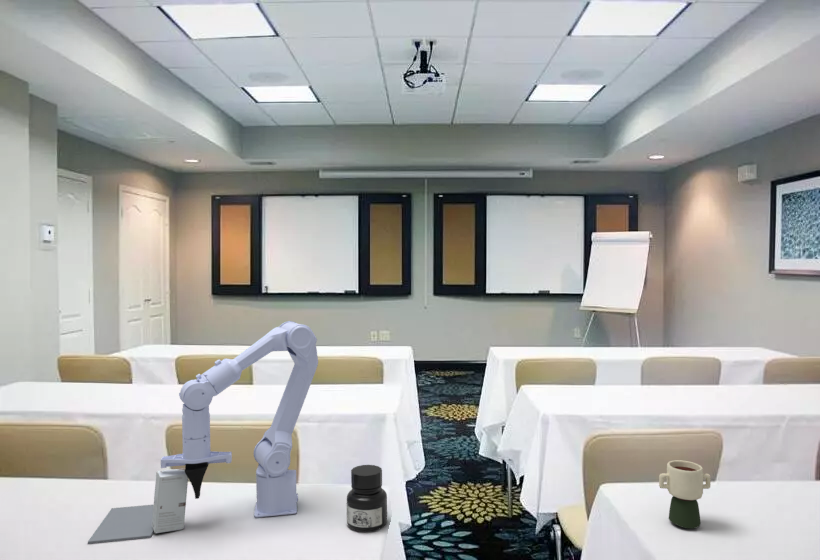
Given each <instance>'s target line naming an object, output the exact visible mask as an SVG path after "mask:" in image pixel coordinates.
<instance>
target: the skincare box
mask: <svg viewBox="0 0 820 560" xmlns="http://www.w3.org/2000/svg"><path fill="white" fill-rule="evenodd" d="M155 473H156V475H155V486H154V493H153V494H154V497H153V505H154V506H153V518H152V527H153V530H154V534H160V533H167V532H175V531H181V530H183V529H184V528H185V517H186V516H185V515H186V505H187V494H188V485H189V478H188V477H187V475H186V474H185V468H177V469H176V468H175V469H174V468H173V469H165V470H156V471H155Z"/></svg>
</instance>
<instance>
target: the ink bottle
mask: <svg viewBox="0 0 820 560" xmlns="http://www.w3.org/2000/svg"><path fill="white" fill-rule="evenodd" d="M350 475H351V476H350V479H351V480H350V482H351V485H350V486H351V490H349V491H348V493H347V494H346V525H347V526H348V528H349V529H352V530H353V531H356V532H362V533H363V532H364V533H365V532H367V533H368V532H376V531H379V530H380V529H383V528H384V527H385V526H386V525H387V523H388V494H387V492H386V490H385V489H384V488H383V470H382V467H380V466H379V465H375V464H361V465H356V466H355V467H353V468H352V469H351V470H350Z"/></svg>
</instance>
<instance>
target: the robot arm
mask: <svg viewBox="0 0 820 560" xmlns="http://www.w3.org/2000/svg"><path fill="white" fill-rule="evenodd" d="M317 341H318V339H317V337H316V334H315V333H314V332H313V330H312V328H311V327H310V326H309V325H307V324H303V323H297V322H296V321H293V320H288V321H287V320H286V321H285V322H283V323H281V324H280V325H279V326H276V327H273V328H272V329H271V330H270V331H268V332H267V333H266V334H264V335H263V336H262V337H261V338H259V339H258V340H257V341H255V342H254V343H253V344H252V345H250V346H248V347H247V348H246V349H245V350H243V351H242V352H241V353H239V354H238V355H237V356H235V357H234V358H233V359H232V358H227V357H226V358H223V359H222V360H221V359H220V358H219V359H217V360H215V361H214V365H213V366H212V367H210V368H209V369H207V370H205V371H204V372H203V373H202V374H200V373H198V374H196V375H195V379H190V380H188V381H186V382H185V383H184V384H183V385H182V387H181V389H180V390H179V391H180V392H179V393H178V396H179V399H180V400H181V402H182V408H181V410H182V411H181V412H182V416H181V425H182V426H181V428H182V430H181V432H182V433H181V434H182V453H177V454H172V455H164V456H161V458H160V468H161V469H165V468H167V467H179V466H185V468H184V469H185V474H186V475H187V477H188V481H189V482H190V484H191V487H192V489H193V493H194V499H197V500H198V499H200V497H201V489H202V484H203V481H204V477H205V474H206V471H207V469H208V467H209V465H210V464H221V463H223V464H231V463H232V459H233V456H232V455H233V453H232V451H214V450H213V451H212V450H211V414H210V405H211V403H212V401H213V398H214V397H216V396H218V395H220V394H221V393H222V392H223V391H225V390H226V389H228V388H230V387H231V386H232V385H233V384H235V383H236V382H237V381H239V380H240V379H241V375H242V372H243V371H244V370H245V369H247V368H249V367H250V366H252V365H253V364H255V363H257V362H258V361H259V360H261V359H262V358H264V357H266V356H267V355H269V354H271V353H272V352H288V353H289V356H290V358H291V360H292V362H293V367H292V370H291V373H290V376H289V378H288V380H287V382H286V386H285V387H284V388H285V389H284V390H283V394H282V396H281V399H280V401H279V404H278V406H277V409H276V411H275V415H274V417H273V420H272V423H271V425H270V427H269V428H268V429H267V430H266V431H264V433H263V436H262V437H261V439H260V440H259V441H258V442H257V444H256V445H255V447H254V448H253V457H254V460H255V462H257V463H258V465H257V468H256V470H255V480H256V481H255V482H256V483H255V485H256V486H255V487H256V488H255V489H256V502H255V507H254V512H253V513H254V514H253V517H254V518H265V517H275V516H284V515H294V514H295V515H296V514H297V512H298V508H297V506H298V505H297V504H298V503H297V502H299V494H298V492H297V470H296V469H289V467H290V465H291V451H292V448H293V438H292V437H293V436H292V435H293V432H294V429H295V426H296V424H297V422H298V419H299V416H300V413H301V410H302V408H303V406H304V403H305V400H306V397H307V395H308V392H309V390H310V388H311V387H310V386H311V384H312V382H313V379H314V377H315V374H316V371H317V368H318V366H319V365H318V364H319V355H318V350H317Z"/></svg>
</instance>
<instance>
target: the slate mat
mask: <svg viewBox="0 0 820 560" xmlns="http://www.w3.org/2000/svg"><path fill="white" fill-rule="evenodd" d="M153 506H154V504H145V505H133V506H123V507H122V506H121V507H112V508H110V510H109V511H108V513H107V514H106V516H105V517H104V518H103V520H102V521H101V523H100V524H99V526H98V527H97V528H96V530H94V532H93V533H92V535H91V536H90V538H89V539H88V541H87V545H92V544H102V543H111V542H113V543H114V542H120V541H121V542H123V541H130V540H131V541H132V540H142V539H151V538H152V536H153V534H155V532H154V530H153V527H152V518H153Z"/></svg>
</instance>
